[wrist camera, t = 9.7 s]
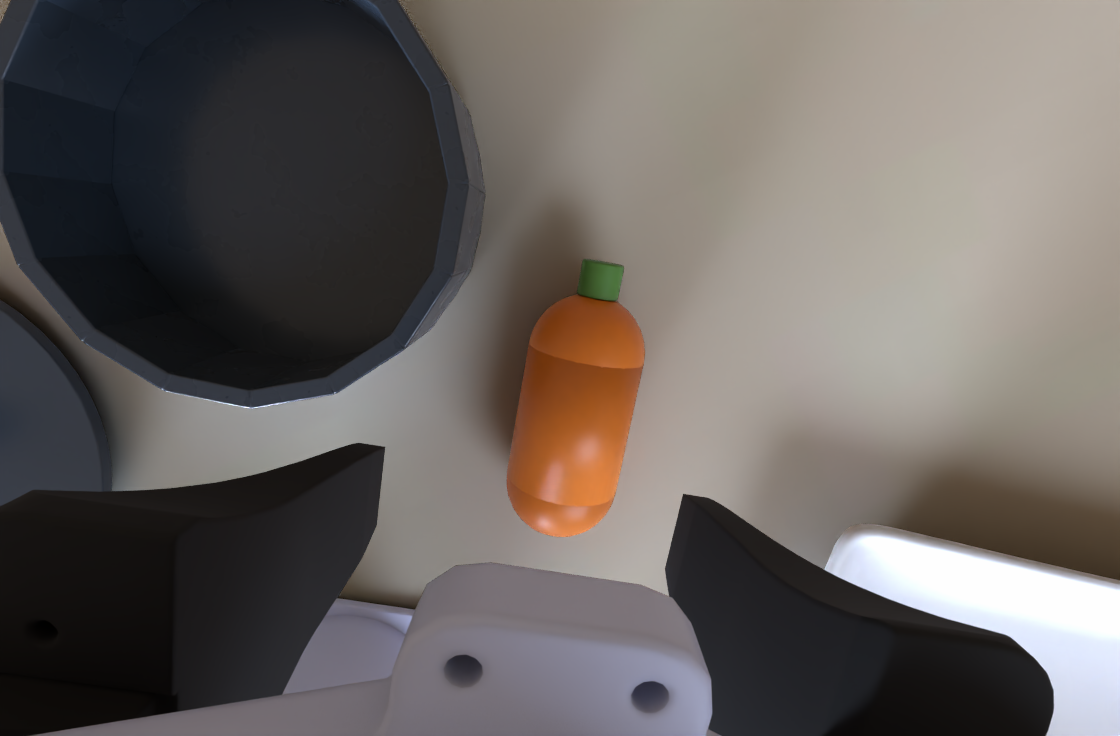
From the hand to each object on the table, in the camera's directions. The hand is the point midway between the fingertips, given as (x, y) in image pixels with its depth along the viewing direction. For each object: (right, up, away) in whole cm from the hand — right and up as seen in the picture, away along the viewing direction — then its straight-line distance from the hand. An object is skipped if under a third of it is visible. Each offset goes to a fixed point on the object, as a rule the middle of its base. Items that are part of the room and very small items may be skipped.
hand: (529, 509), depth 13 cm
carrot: (+1, +2, +9) cm, 9 cm away
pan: (-9, +10, +7) cm, 15 cm away
